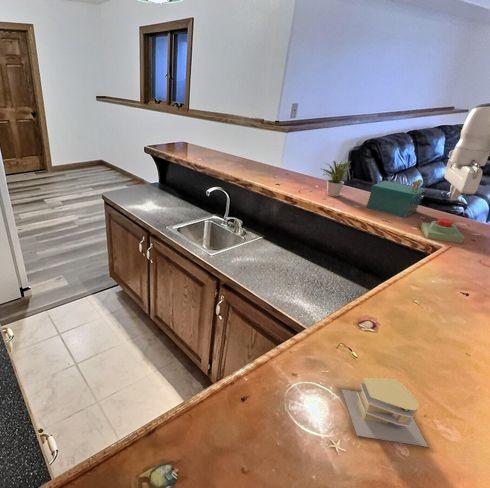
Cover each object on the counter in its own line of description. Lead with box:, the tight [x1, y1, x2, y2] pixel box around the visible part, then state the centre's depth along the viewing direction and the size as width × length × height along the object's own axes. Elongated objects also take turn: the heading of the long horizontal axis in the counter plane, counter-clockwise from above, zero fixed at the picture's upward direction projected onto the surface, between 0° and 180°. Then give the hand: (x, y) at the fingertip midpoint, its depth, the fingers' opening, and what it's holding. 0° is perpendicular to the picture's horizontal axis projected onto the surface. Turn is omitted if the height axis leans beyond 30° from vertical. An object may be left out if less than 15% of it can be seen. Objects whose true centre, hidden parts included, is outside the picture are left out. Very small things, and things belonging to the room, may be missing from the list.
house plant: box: [320, 159, 352, 197], centre depth 160 cm, size 14×14×16 cm
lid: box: [371, 178, 427, 196], centre depth 140 cm, size 15×12×5 cm
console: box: [419, 220, 465, 244], centre depth 121 cm, size 10×10×4 cm
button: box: [437, 218, 454, 227], centre depth 120 cm, size 4×4×2 cm
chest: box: [366, 186, 423, 218], centre depth 143 cm, size 15×12×9 cm
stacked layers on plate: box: [341, 377, 429, 448], centre depth 56 cm, size 10×9×6 cm
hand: (452, 199), depth 116 cm, fingers closed
